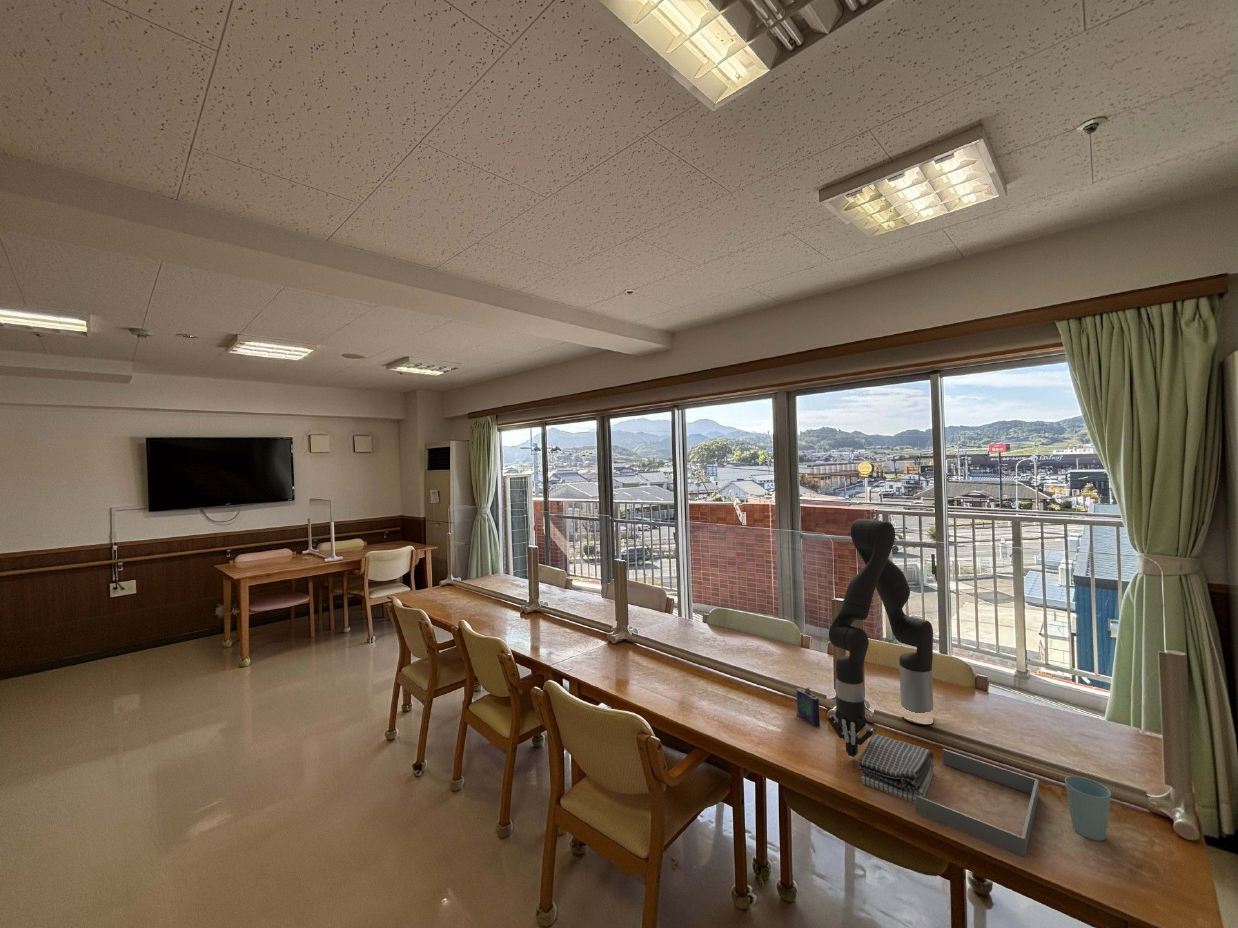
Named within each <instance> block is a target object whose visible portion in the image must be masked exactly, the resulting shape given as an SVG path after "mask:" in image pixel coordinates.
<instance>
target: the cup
mask: <svg viewBox="0 0 1238 928" xmlns="http://www.w3.org/2000/svg"><path fill="white" fill-rule="evenodd" d="M1064 784H1065V789H1066V795H1067V796H1066V797H1067V801H1068V808H1069V813H1070V819H1071V825H1072V829H1074V831H1075V832H1076V833H1077V834H1079V835H1080V836H1082V837H1085V838H1086V839H1087V838H1088V839H1089V840H1092V841H1097V842H1098V841H1099V842H1100V841H1104V840H1106V837H1107V829H1108V821H1109V814H1110V806H1111V799H1112V792H1111V790H1110V789H1109V788H1108V787H1106V786H1105V785H1104V784H1102V783H1100V782H1098V781H1096V780H1094V779H1090V778H1087V777H1083V776H1079V775H1069V776H1066V777H1065V778H1064Z"/></svg>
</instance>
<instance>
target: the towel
mask: <svg viewBox="0 0 1238 928" xmlns="http://www.w3.org/2000/svg"><path fill="white" fill-rule="evenodd" d="M870 738H871V739H869V741H868V744H867V745H866V747H865V749H864V751H863V753H862V754H861V755H860V756H859V758H858V768H857V770H858V771H859V772H860V773H862V776H861V779H860V780H861V783H862V785H864V786H867V787H871V788H872V789H877V790H880V791H882V792H884V793H887V794H889V795H890V796H891V795H892V796H895V797H898V798H900V799H903V800H905V801H908V802H910V803H911V802H912V803H913V804H914V805H916V795H918V796H921V797H923V798H926V795H927V792H928V790H929V788H930V785H931V782H932V779H933V774H934V772H935V771H934V768H935V766H934V763H933V762H934V759H935V758H934V757H935V756H934V753H933V751H932V750H930V749H927V748H926V747H922V746H919V745H915V744H911V743H908V742H906V741H903V740H902V741H900V740H899V739H898V740H897V739H895V738H892V737H890V736H889V737H888V736H886V735H882V734H876V733H875V734H873V735H872V736H871V737H870Z"/></svg>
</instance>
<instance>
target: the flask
mask: <svg viewBox="0 0 1238 928" xmlns="http://www.w3.org/2000/svg"><path fill="white" fill-rule="evenodd" d="M810 689H811V687H804V688H800V687H798V688H796V690H795V691H796V692H795V694H796V697H795V698H796V715H797V717H798V718H801V719H802V720H803V721H805V722H808V723H809V724H810V725H812V726H813V727H818V728H819V727H820V726H821V722H820V721H821V720H820V703H819V701H820V700H819V697H818V696H816V694H814V693H812V691H811V690H810Z"/></svg>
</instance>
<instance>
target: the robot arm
mask: <svg viewBox="0 0 1238 928" xmlns="http://www.w3.org/2000/svg"><path fill="white" fill-rule="evenodd" d="M850 538H851V541H852V544H853V545H854V547H855V550H856V551H857V552H858V554H859V556H860V557H861V560H862V561H863V563H864V567H863V568H862V569H861V570H860V571H859V572H858V573H857V574H856V575H855V576H854V577H853V578H852V579H851V581H850V582H849V583H848V586H847V587H846V591H845V595H844V599H843V603H842V607H841V609H839V611H838V613H837V615H836V616H835V618H834V620H833V621H832V623H831V625H830V626H829V630H828V638H829V642H830V643H831V645H832V646H834V647H836V648H839V649H841V650H844V651H848V652H849V655H842V656H839V657H837V659H835V660H836V661H835V672H836V674H835V678H836V680H835V708H836V711H835V713H834V714H831V715H829V717H828V718H827V721H828V722H829V724H830V725H831V727H832V728H833V730H834V732H835V733H836V734H837V737H838V738H840V739H843V740H844V741H845V752H846V753H847V755H848V757H852V758H854V757H855V756H857V755H858V753H859V746H861V745H863V744H864V743H865V742H866V741H867V740H868V739H870V738H871V737H873V735H874V733H875V732H876V729H875V727H871V725H869V724H868V720H867V717H866V701H865V700H866V698H865V686H864V675H863V673H864V671H863V670H864V669H863V667H864V663H865V660H866V655H867V651H868V649H869V644H870V643H869V641H870V640H869V637H868V634H867V632H866V631H865V630H864V629H863V628H860V627H856V626H852V624H853V622H855V621H864V620H866V619H867V618H868V616H869V613H870V609H871V605H872V601H873V596H874V593H875V590H876V591H877V593H878V595H879V597H880V600H881V602H882V605H883V607H884V610H885V612H886V615H887V618H888V621H889V625H890V628H891V632H892V635H893V637H894V639H895V640H896V641H897V642H898V643H900V644H904V645H906V646H911V647H915V648H916V650H915V651H916V652H906V653H905V652H904V653H902V654H900V655H899V683H900V684H899V687H900V706H901V705H902V707H904V708H905V709H906V710H909V711H911V712H915V713H925V712H930V711H931V710H933V711H934V693H933V691H934V689H933V688H934V687H933V658H934V657H933V655H934V653H933V652H934V628H933V626H932V623H931V622H930V621H929V620H927V619H923V618H917V617H914V616H909V615H907V614H905V612H904V610H903V609H904V606H906V604H907V602H908V600H909V598H910V595H911V590H910V588H911V587H910V585H909V583H908V580H907V578H906V576H905V573H904V572H903V571H902V569H900V568H899V566H898V565H896V564H895V563H894V562H893V561H892V560H890V559H889V558H890V554H891V553H892V550H893V547H894V544H895V539H896V530H895V527H894V525H893V524H892V523H891V522H889V521H887V520H880V519H879V520H878V519H871V518H870V519H869V518H858V519H856V520H854V521H853V522H852V524H851V526H850ZM863 729H864V730H863ZM861 730H863V732H864V733H863V735H862V736H861V737H859V735H860V732H861Z"/></svg>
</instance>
